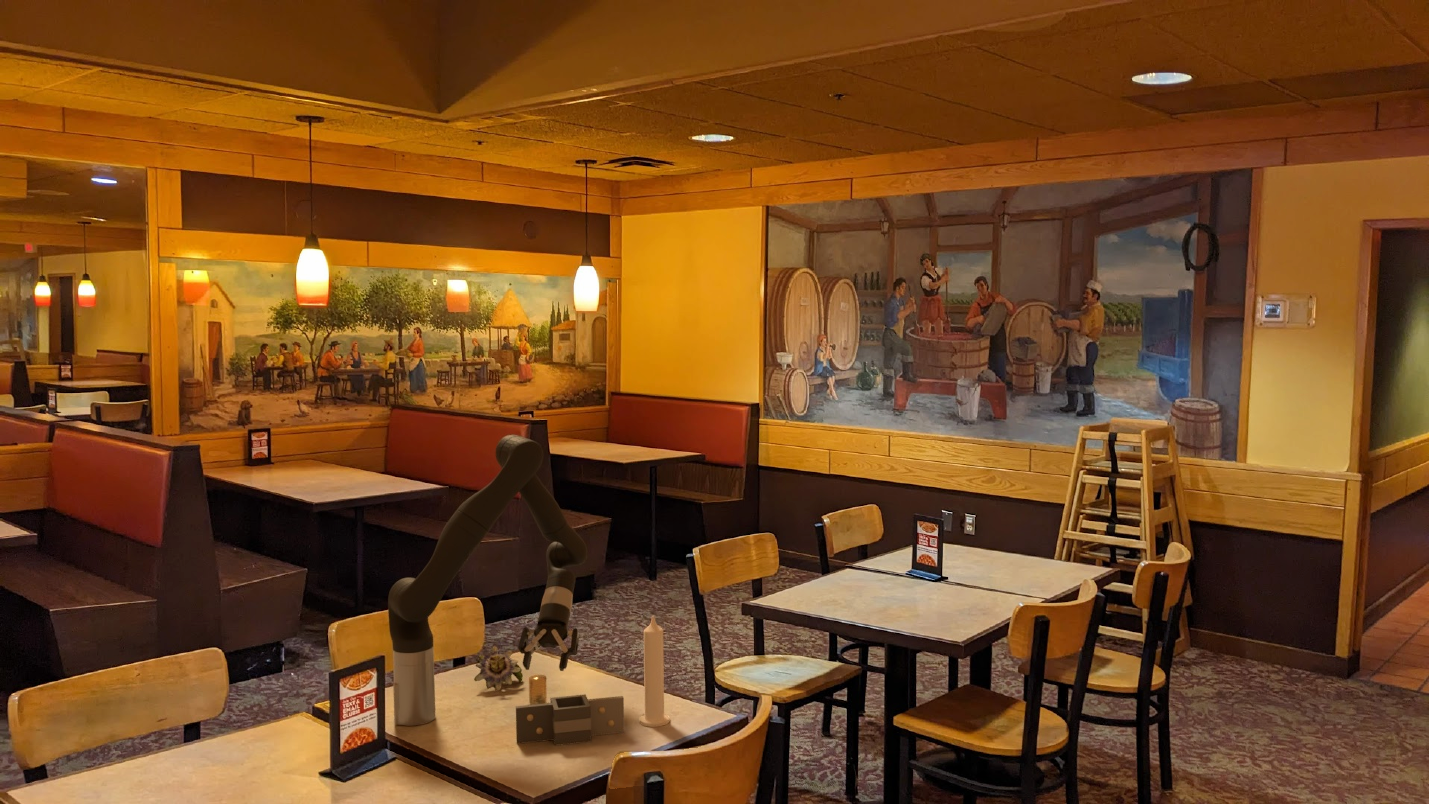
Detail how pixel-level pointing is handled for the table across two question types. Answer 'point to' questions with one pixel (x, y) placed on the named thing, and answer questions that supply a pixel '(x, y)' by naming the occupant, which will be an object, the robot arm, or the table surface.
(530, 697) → the amber cylinder
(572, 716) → the hinge
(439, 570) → the robot arm
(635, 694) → the table surface
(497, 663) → the passion flower
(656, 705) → the candle
